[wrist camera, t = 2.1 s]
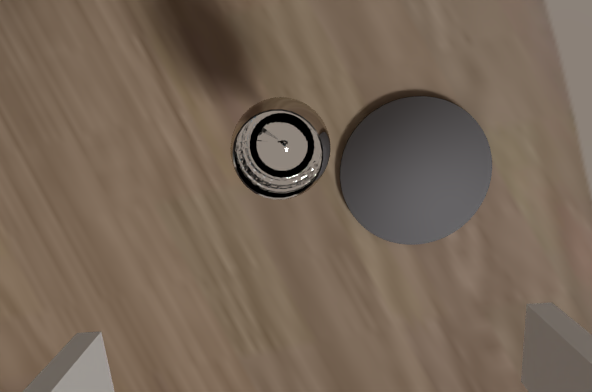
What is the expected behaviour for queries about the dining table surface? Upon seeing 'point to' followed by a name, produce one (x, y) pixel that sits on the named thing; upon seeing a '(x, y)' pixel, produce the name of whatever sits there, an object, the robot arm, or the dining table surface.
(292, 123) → the wineglass
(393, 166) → the coaster
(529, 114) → the dining table surface
